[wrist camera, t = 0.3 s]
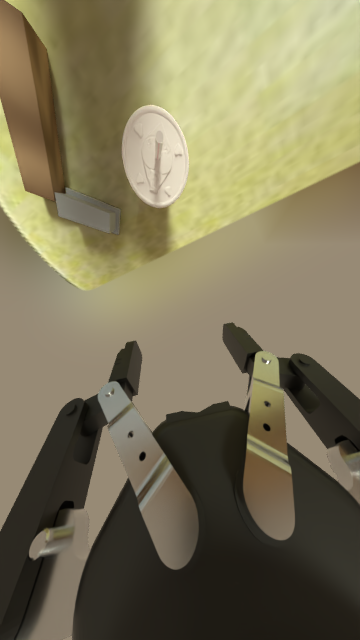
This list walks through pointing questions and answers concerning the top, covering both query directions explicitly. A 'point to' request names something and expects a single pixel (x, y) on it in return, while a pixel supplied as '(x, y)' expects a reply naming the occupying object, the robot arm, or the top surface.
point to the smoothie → (155, 156)
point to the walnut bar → (29, 104)
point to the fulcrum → (88, 211)
